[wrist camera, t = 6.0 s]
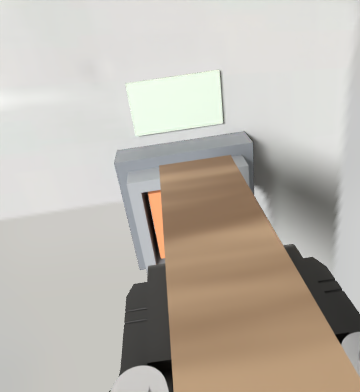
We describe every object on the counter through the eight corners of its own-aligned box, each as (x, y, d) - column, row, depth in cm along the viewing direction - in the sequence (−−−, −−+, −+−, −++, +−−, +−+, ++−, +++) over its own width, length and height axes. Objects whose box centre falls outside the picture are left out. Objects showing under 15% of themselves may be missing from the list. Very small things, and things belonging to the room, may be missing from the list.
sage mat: (125, 83, 29) (125, 84, 28) (218, 69, 29) (219, 70, 29) (135, 135, 31) (135, 136, 31) (222, 122, 31) (223, 123, 31)
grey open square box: (117, 150, 32) (111, 174, 27) (244, 131, 32) (260, 152, 27) (140, 251, 37) (139, 285, 33) (248, 235, 38) (262, 267, 33)
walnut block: (158, 165, 16) (177, 456, 5) (230, 154, 16) (387, 423, 5) (169, 225, 18) (198, 539, 7) (233, 215, 18) (360, 514, 7)
